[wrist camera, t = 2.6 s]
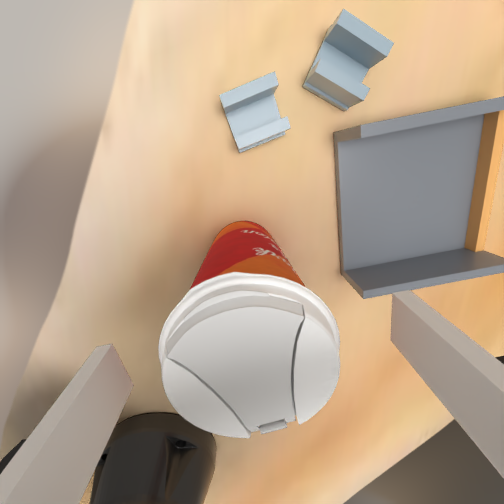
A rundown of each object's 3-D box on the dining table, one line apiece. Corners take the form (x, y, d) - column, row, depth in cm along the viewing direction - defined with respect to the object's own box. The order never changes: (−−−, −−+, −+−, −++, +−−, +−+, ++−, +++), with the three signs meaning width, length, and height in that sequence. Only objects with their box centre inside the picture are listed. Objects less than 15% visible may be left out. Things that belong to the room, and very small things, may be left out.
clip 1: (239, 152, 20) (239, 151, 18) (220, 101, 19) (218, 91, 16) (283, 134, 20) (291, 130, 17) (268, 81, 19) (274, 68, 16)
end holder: (341, 274, 25) (363, 298, 21) (333, 132, 20) (360, 125, 16) (464, 250, 25) (513, 270, 21) (486, 102, 20) (558, 85, 16)
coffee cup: (293, 273, 25) (365, 419, 11) (218, 296, 25) (195, 464, 11) (272, 195, 22) (333, 258, 8) (187, 222, 22) (104, 328, 8)
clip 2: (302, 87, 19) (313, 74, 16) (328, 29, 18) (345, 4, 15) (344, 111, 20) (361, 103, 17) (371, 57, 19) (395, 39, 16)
